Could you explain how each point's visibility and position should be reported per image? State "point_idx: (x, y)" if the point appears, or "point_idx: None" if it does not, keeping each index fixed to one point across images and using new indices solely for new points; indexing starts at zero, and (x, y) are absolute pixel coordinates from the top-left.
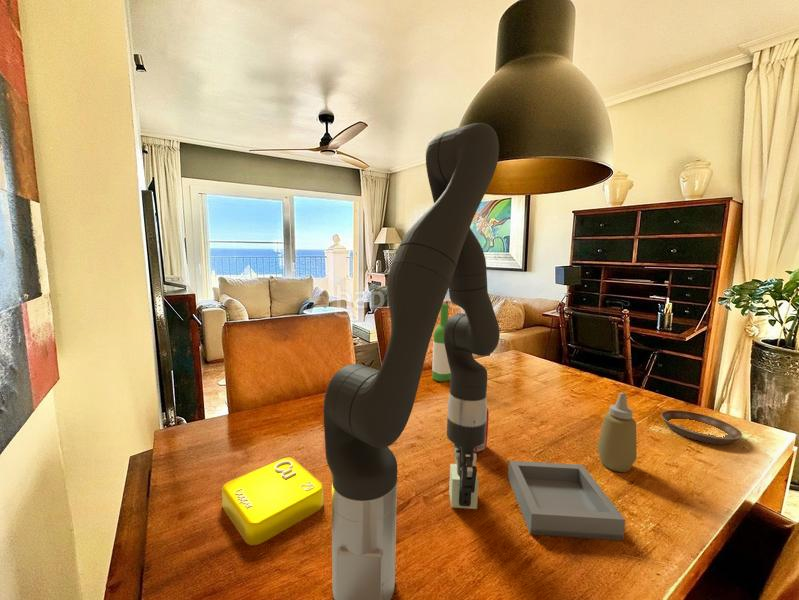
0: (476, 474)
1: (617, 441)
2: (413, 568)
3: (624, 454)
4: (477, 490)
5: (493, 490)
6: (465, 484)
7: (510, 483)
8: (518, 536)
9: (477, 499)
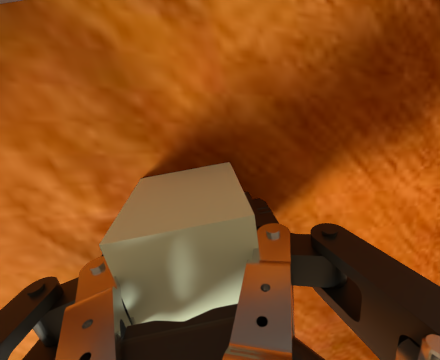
0: (196, 228)
1: None
2: (431, 278)
3: None
4: (242, 191)
5: (99, 97)
6: (319, 278)
7: (3, 2)
8: (339, 11)
9: (235, 174)
